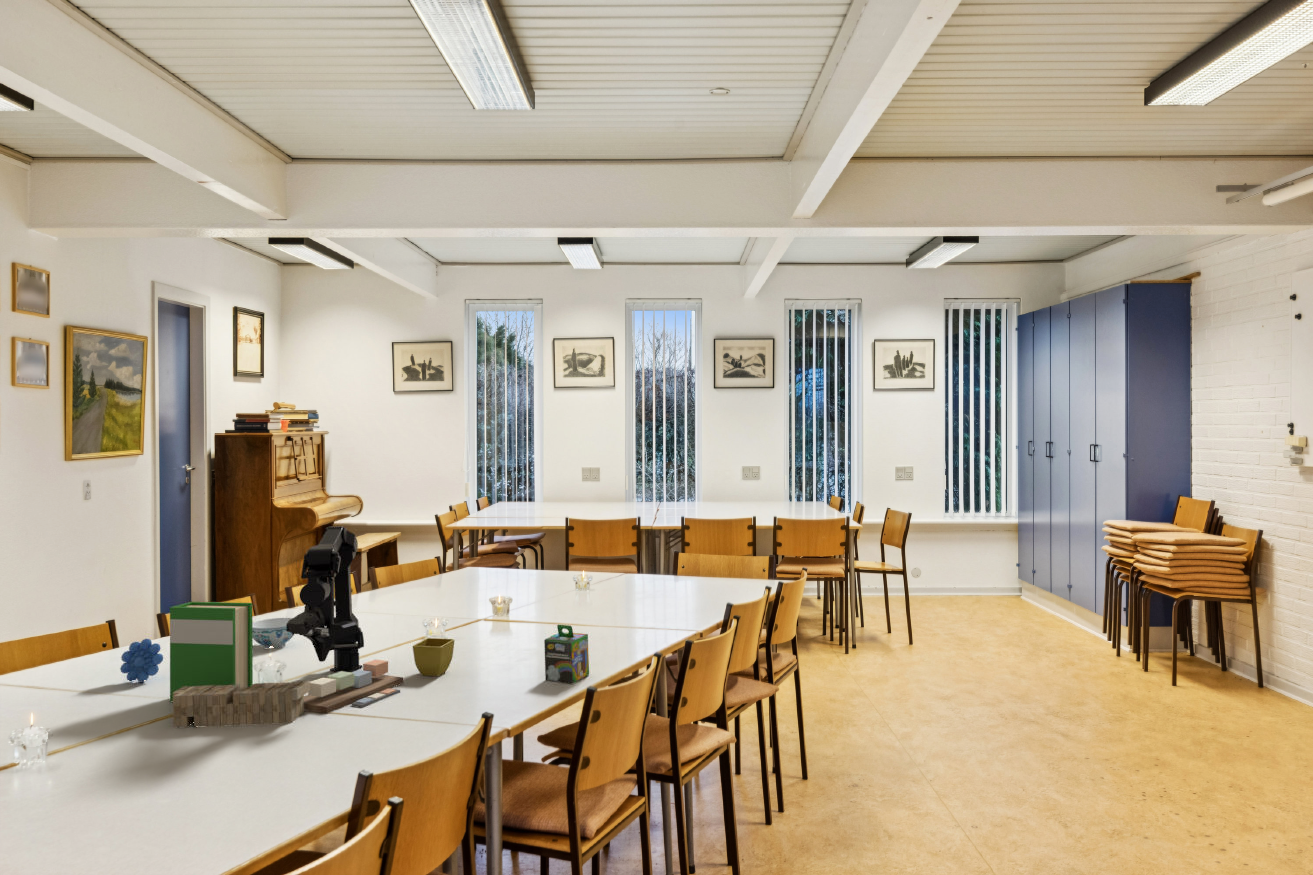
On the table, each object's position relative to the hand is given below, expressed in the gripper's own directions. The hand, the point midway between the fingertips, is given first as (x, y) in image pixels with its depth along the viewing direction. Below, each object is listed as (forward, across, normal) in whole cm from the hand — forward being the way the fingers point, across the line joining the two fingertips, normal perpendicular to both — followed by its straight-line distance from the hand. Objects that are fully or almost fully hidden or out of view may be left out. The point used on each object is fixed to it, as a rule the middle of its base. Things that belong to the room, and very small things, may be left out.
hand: (322, 661), depth 192 cm
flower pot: (+11, +8, +32) cm, 35 cm away
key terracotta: (+8, 0, +18) cm, 20 cm away
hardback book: (+11, -31, -7) cm, 34 cm away
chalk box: (+11, +45, +43) cm, 63 cm away
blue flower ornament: (+11, -63, -4) cm, 64 cm away
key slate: (+9, 0, +12) cm, 15 cm away
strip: (+11, +9, +9) cm, 17 cm away
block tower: (+11, -10, -15) cm, 21 cm away
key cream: (+8, 0, 0) cm, 8 cm away
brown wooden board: (+11, 0, +9) cm, 14 cm away
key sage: (+8, 0, +6) cm, 10 cm away
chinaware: (+11, -62, +37) cm, 73 cm away
